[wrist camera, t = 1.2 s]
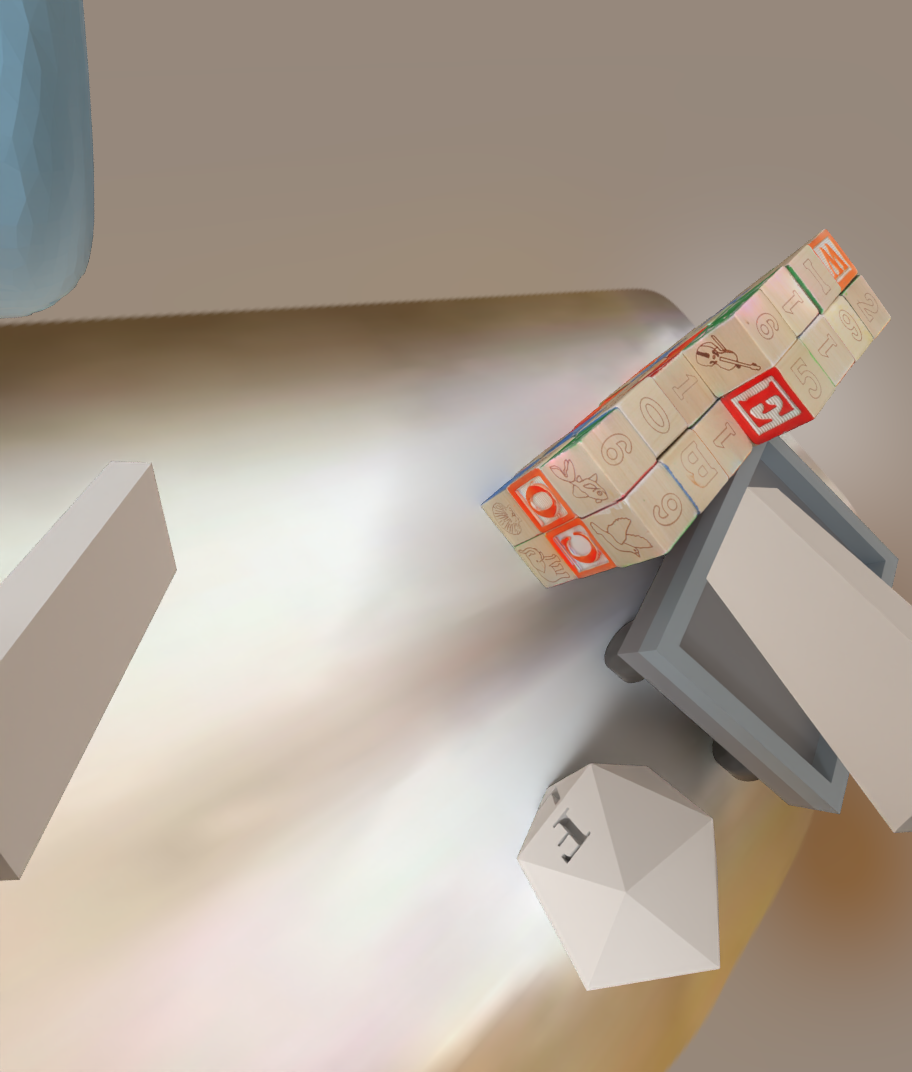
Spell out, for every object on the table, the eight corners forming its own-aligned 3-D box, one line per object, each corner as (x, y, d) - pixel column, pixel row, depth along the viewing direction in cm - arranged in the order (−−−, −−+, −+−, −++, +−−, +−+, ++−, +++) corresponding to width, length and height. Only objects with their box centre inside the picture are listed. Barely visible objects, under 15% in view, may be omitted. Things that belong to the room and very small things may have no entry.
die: (597, 725, 31) (597, 719, 22) (740, 846, 28) (807, 896, 19) (503, 845, 30) (464, 888, 21) (640, 985, 27) (661, 1106, 18)
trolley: (575, 658, 31) (656, 650, 25) (682, 458, 38) (761, 418, 33) (733, 794, 33) (839, 814, 27) (804, 578, 40) (898, 559, 35)
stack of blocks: (545, 593, 31) (727, 537, 20) (475, 506, 31) (623, 402, 20) (716, 415, 41) (898, 315, 30) (665, 348, 41) (831, 223, 30)
